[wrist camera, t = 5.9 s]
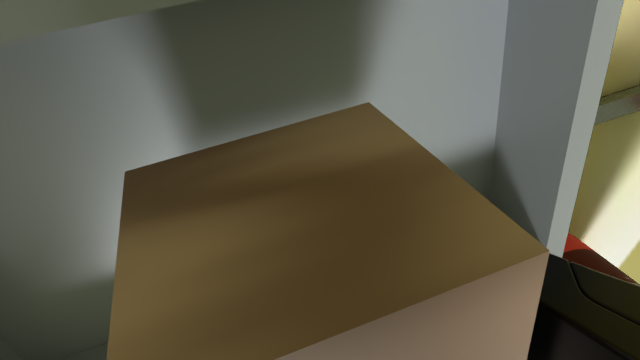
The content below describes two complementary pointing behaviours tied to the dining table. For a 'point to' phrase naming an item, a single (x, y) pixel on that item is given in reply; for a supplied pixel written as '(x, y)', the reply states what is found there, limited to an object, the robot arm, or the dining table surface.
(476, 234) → the walnut block
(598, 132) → the dining table surface
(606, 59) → the grey open tray
